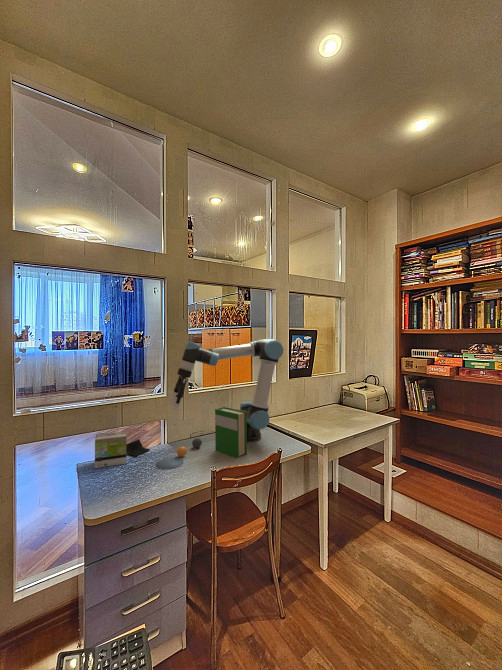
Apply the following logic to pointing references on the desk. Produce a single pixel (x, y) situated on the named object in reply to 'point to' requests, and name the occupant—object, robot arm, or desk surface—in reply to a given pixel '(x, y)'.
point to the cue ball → (196, 443)
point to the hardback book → (231, 431)
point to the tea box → (110, 449)
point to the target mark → (169, 463)
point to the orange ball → (181, 451)
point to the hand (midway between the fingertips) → (173, 406)
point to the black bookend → (135, 448)
